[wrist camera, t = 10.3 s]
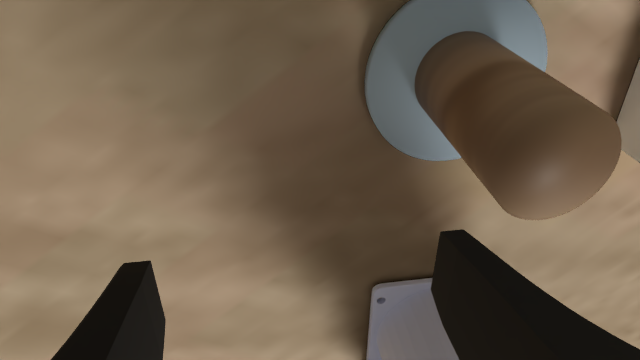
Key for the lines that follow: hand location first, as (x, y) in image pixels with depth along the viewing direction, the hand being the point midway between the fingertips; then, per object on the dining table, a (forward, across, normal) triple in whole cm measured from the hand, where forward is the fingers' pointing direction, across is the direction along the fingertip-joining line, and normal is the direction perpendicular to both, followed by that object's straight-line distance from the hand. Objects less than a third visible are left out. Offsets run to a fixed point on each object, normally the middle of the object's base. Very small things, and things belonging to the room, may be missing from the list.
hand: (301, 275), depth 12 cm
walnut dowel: (+10, -8, -1) cm, 13 cm away
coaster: (+10, -8, -1) cm, 13 cm away
